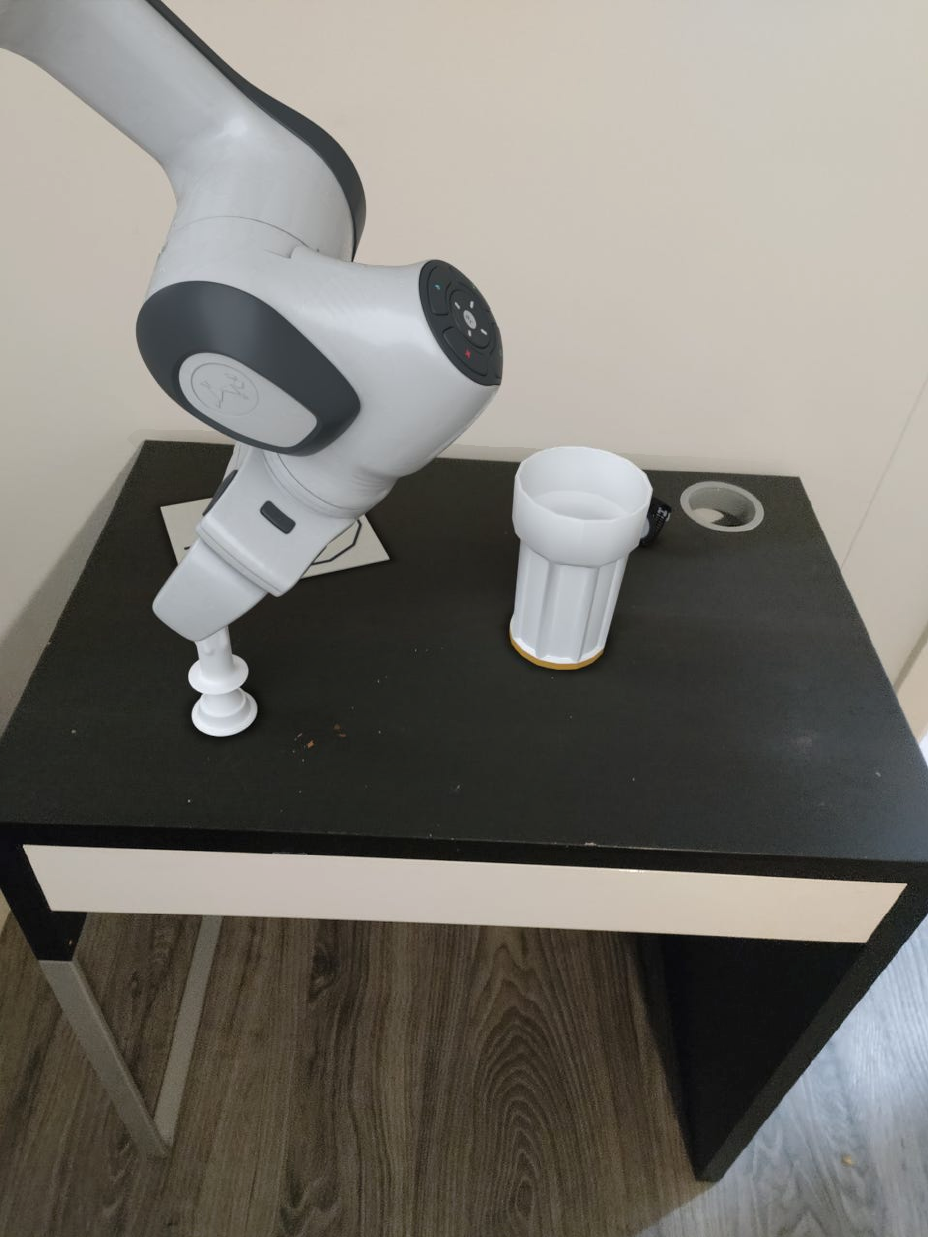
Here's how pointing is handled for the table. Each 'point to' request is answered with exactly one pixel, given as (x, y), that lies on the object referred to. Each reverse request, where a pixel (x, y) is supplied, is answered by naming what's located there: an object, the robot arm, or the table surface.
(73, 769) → the table surface
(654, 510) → the smartwatch
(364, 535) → the sketch sheet
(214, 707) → the candle
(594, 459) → the cup
